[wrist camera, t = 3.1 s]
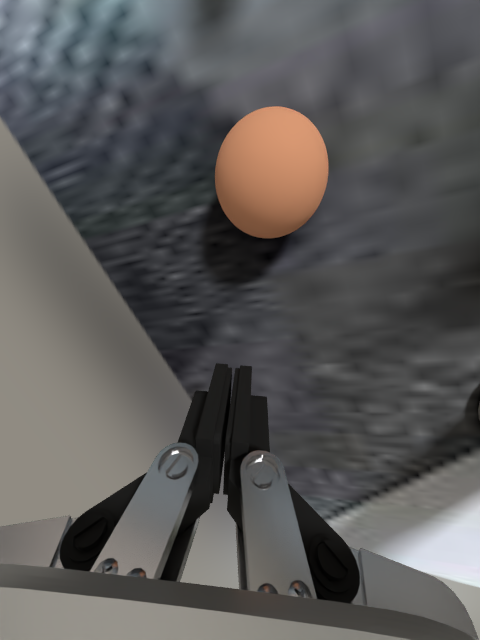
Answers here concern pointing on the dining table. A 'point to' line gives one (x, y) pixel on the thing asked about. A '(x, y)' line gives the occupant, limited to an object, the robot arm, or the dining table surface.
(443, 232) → the dining table surface
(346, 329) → the dining table surface
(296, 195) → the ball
